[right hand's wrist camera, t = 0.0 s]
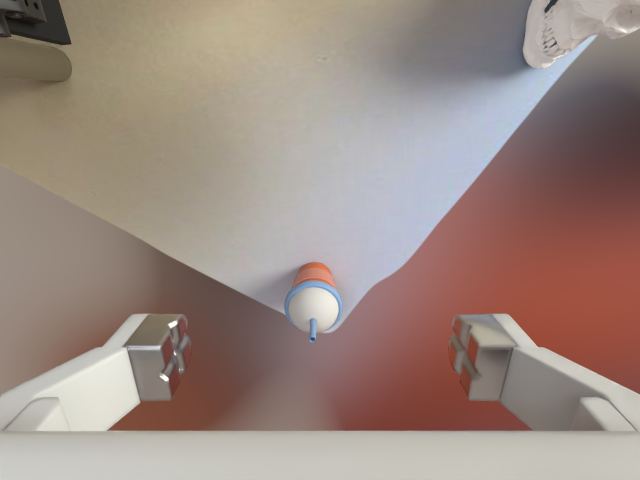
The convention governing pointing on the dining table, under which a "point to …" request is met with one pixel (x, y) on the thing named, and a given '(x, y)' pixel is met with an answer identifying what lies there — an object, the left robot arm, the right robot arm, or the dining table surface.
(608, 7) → the skull
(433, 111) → the dining table surface
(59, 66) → the jar
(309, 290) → the cup with straw
